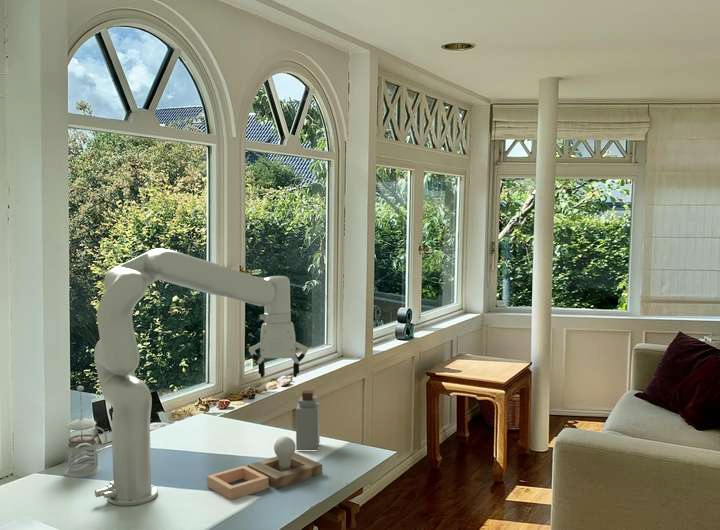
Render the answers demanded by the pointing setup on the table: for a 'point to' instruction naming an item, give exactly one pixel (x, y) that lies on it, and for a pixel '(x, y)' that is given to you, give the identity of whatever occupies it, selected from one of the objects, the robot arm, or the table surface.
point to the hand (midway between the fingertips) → (279, 376)
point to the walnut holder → (299, 472)
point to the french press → (83, 448)
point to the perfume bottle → (307, 422)
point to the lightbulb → (284, 452)
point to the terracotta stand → (252, 484)
